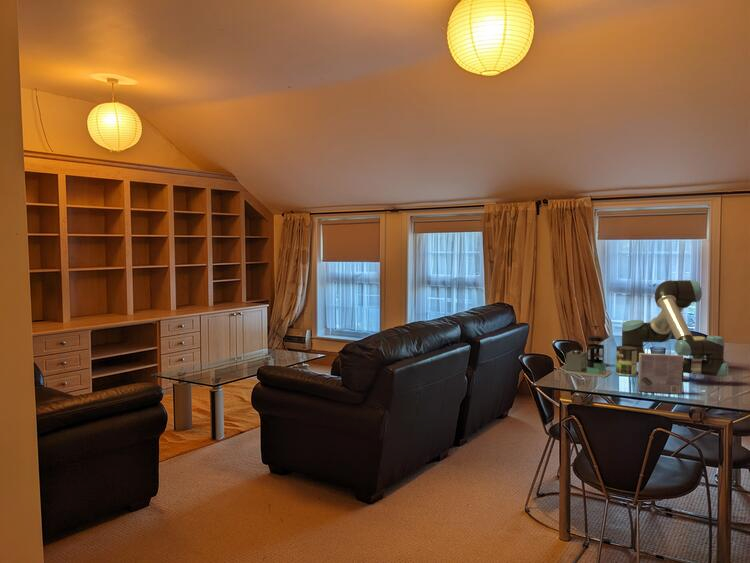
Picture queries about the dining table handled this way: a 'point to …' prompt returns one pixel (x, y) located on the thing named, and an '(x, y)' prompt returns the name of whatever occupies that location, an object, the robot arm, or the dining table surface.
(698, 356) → the character mug
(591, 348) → the french press
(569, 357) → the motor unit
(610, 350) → the dining table surface
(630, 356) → the coffee can
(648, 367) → the cake pan box
